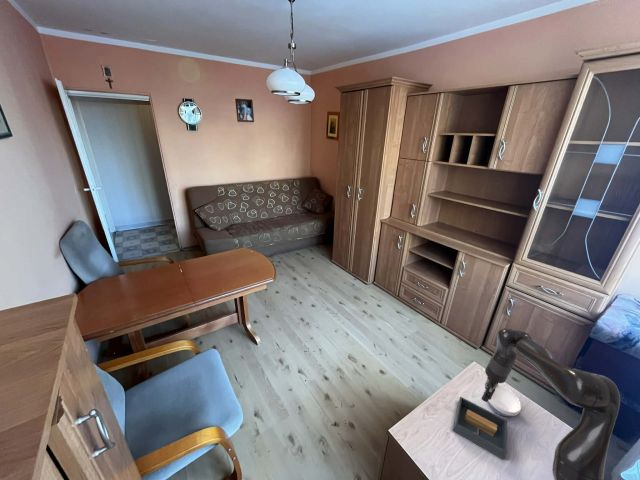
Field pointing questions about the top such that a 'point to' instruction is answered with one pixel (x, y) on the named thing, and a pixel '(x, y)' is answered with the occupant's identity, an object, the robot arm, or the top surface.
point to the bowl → (505, 402)
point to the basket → (484, 440)
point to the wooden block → (480, 423)
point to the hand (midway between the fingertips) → (485, 393)
